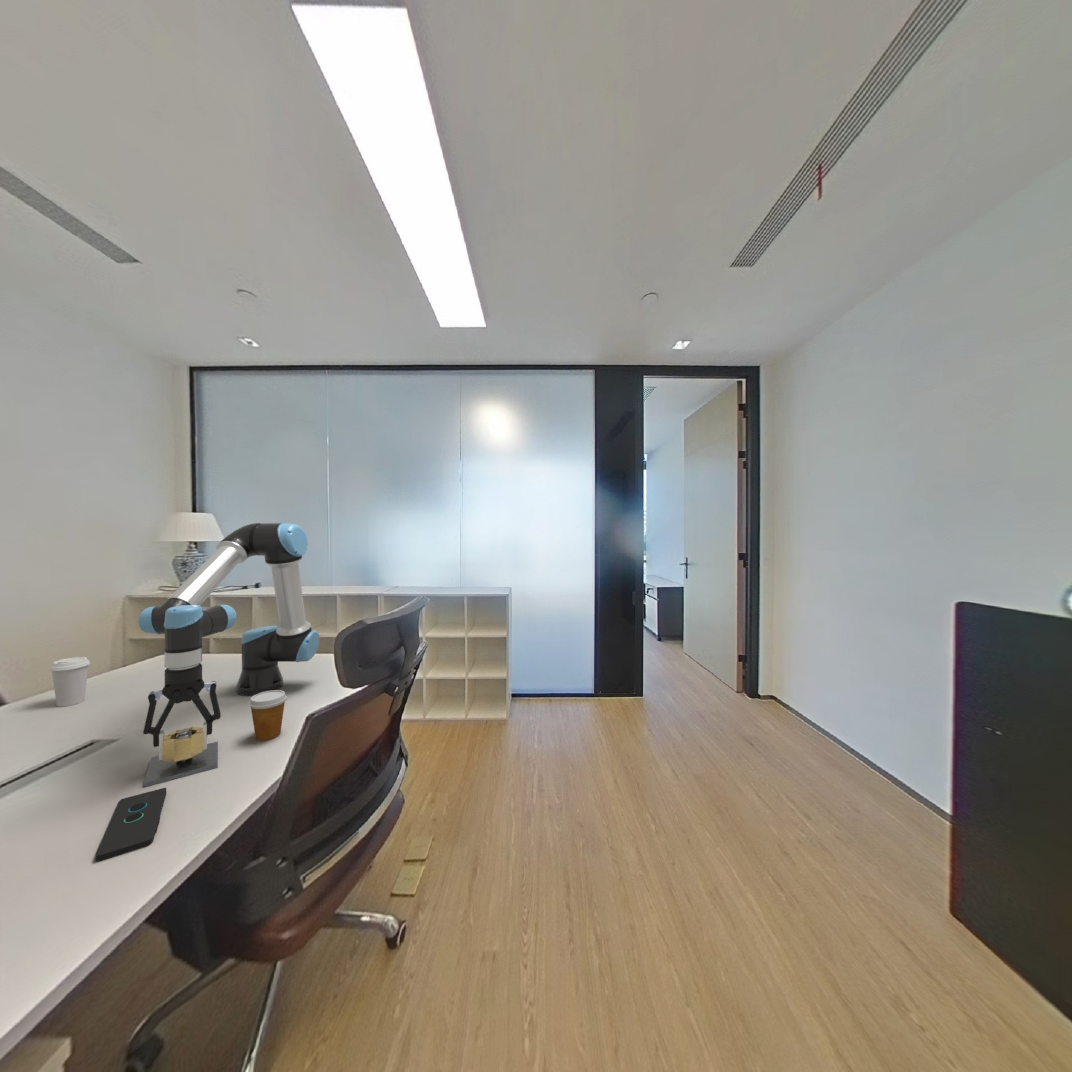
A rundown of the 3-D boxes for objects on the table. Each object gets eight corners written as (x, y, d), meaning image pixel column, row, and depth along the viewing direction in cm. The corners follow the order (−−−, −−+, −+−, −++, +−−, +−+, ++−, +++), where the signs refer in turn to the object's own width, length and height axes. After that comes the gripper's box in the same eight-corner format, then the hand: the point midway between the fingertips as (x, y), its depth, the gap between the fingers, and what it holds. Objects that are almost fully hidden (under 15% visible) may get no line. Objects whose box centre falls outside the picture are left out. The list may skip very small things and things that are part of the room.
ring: (203, 742, 115) (203, 724, 115) (202, 754, 109) (202, 735, 109) (164, 751, 110) (165, 732, 110) (161, 765, 104) (161, 745, 104)
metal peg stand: (217, 744, 119) (217, 714, 119) (217, 767, 108) (217, 733, 108) (151, 760, 111) (151, 728, 111) (143, 787, 100) (143, 750, 100)
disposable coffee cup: (294, 731, 128) (294, 692, 128) (264, 746, 119) (264, 704, 119) (271, 725, 131) (271, 687, 131) (241, 740, 122) (240, 699, 122)
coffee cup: (44, 705, 144) (43, 662, 143) (82, 695, 153) (82, 654, 152) (58, 710, 140) (57, 666, 140) (96, 700, 149) (96, 658, 149)
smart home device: (167, 786, 98) (153, 837, 82) (167, 793, 98) (153, 846, 82) (118, 798, 94) (93, 856, 77) (118, 806, 94) (93, 865, 77)
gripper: (232, 655, 118) (232, 735, 119) (131, 669, 106) (131, 758, 106) (233, 662, 112) (233, 746, 113) (125, 677, 100) (126, 772, 100)
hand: (183, 752), depth 109 cm, fingers closed on ring, 8 cm apart
